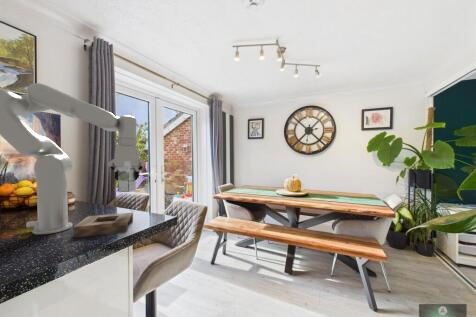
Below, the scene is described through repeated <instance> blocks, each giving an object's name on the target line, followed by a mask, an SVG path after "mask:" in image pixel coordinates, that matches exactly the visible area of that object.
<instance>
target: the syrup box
mask: <svg viewBox="0 0 476 317" xmlns="http://www.w3.org/2000/svg"><path fill="white" fill-rule="evenodd" d="M135 172H136V170H135V168H134V166H132V167H131V161H124V166H122V167H119V166H118V181H117V192H119V193H122V192H124V193H130V192H131V193H132V192H135V191H136V190H137V183H136V182H137V180H135Z"/></svg>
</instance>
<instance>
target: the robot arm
mask: <svg viewBox="0 0 476 317" xmlns="http://www.w3.org/2000/svg"><path fill="white" fill-rule="evenodd" d="M49 110H51V111H54V112H56V113H58V114H62V115H64V116H66V117H69V118H72V119H73V118H74V119H78V120H82V121H85V122H87V123H90V124H91V125H94V126H96V127H100V128H101V129H103V130H104V131H106V132H118V134H117V135H118V136H117V139H114V143H117V144H116V146H115V148H114V149H115V150H114V158H113V159H111V160H110V161H108V162H107V163H106V164H107V166H108V167H109V168H110V169H111V170H112V171H113V172H114V179H115V181H117V182H118V166H119V167H122V166H124V161H131V167H132V166H134V168H135V170H136V172H135V180H136V181H138V179H139V177H140V171H141V170H142V169H143V168H144V167H145V166H146V165H147V162H145V161H144V160H142V159H141V158H140V152H139V145H137V118H136V117H135V116H132V115H120V116H115V115H114V114H113V113H112V112H110V111H108V110H106V109H104V108H101V107H99V106H96V105H95V104H92V103H88V102H86V101H84V100H82V99H79V98H78V97H77V98H76V97H74V96H73V95H72V96H71V95H69V94H67V93H65V92H64V91H63V92H62V91H60V90H59V89H56V88H54V87H51V86H49V85H46V84H44V83H38V82H36V83H32V84H29V86H27V88H26V93H24V94H17V93H15V92H13V91H10V90H9V89H5V88H1V87H0V136H1V138H3V139H4V140H5V141H6V142H7V143H8V144H9V145H10V146H12V147H13V148H14V150H15V151H17V152H18V153H19V154H20V155H22V156H25V157H31V158H34V159H36V160H35V162H34V165H33V170H34V177H35V182H36V200H37V201H36V202H37V203H36V207H37V208H36V209H37V210H36V211H37V220H35V221H33V220H32V221H27V222H26V223H25V224H26V225H25V226H26V228H33V229H32V234H33V235H40V236H41V235H49V234H54V233H55V234H56V233H60V232H64V231H67V230H68V229H71V228H73V222H69V215H68V214H69V213H68V210H69V209H68V181H67V175H66V174H68V173H69V172H70V171H71V170H72V168H73V161H72V159H71V158H70V157H69V156H68V155H67V154H66V153H65V152H64V151H63V150H62V149H61V147H59V146H58V145H57V144H56V143H55V142H54V141H53V140H52V139H50V138H49V137H47V136H44V135H41V134H38V133H36V132H35V131H34V130H32V129H31V127H29V126H28V124H26V123H25V122H24V121H23V120H22V119H21V118H19V117H18V116H26V115H31V114H37V113H41V112H45V111H49ZM140 163H141V165H140ZM139 165H140V166H139Z"/></svg>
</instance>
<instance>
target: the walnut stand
mask: <svg viewBox="0 0 476 317" xmlns="http://www.w3.org/2000/svg"><path fill="white" fill-rule="evenodd" d="M133 222H134V212H124V213H121V212H120V213H113V214H112V213H110V214H99V215H87V216H86V217H85V218H84V219H82V220H81V221H79V222H78V223H77V224H75V225H74V226H72V230H73V231H72V232H73V233H72V235H73V238H81V237H83V238H84V237H93V236H101V235H110V234H120V233H127V232H128V231H129V229H128V228H129V227H128V225H129V223H133Z"/></svg>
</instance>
